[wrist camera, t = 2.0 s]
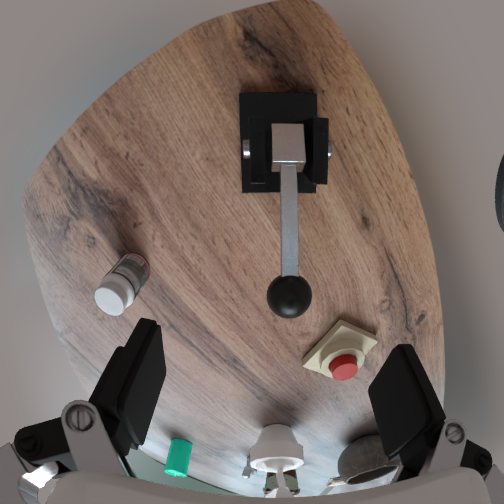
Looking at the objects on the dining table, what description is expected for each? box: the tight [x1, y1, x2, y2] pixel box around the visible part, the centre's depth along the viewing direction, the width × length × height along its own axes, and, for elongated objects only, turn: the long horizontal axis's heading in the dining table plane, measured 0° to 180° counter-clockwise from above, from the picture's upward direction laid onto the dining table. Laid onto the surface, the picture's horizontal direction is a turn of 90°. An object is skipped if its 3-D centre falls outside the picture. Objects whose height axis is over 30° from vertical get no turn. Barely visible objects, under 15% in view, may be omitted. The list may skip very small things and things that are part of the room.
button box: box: [301, 319, 378, 378], centre depth 38 cm, size 10×8×4 cm
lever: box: [267, 124, 312, 318], centre depth 18 cm, size 13×3×3 cm, turn 1°
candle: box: [164, 439, 192, 477], centre depth 54 cm, size 6×6×12 cm
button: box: [330, 354, 358, 380], centre depth 36 cm, size 4×4×2 cm
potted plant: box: [250, 424, 304, 498], centre depth 41 cm, size 13×12×25 cm
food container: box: [263, 469, 300, 495], centre depth 63 cm, size 12×6×10 cm, turn 73°
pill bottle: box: [95, 253, 150, 316], centre depth 31 cm, size 5×5×8 cm
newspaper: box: [326, 478, 346, 487], centre depth 75 cm, size 23×12×2 cm, turn 90°
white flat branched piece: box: [242, 457, 257, 479], centre depth 58 cm, size 7×2×8 cm, turn 19°
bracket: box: [239, 92, 332, 193], centre depth 22 cm, size 11×8×13 cm
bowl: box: [338, 435, 401, 485], centre depth 51 cm, size 18×18×13 cm
